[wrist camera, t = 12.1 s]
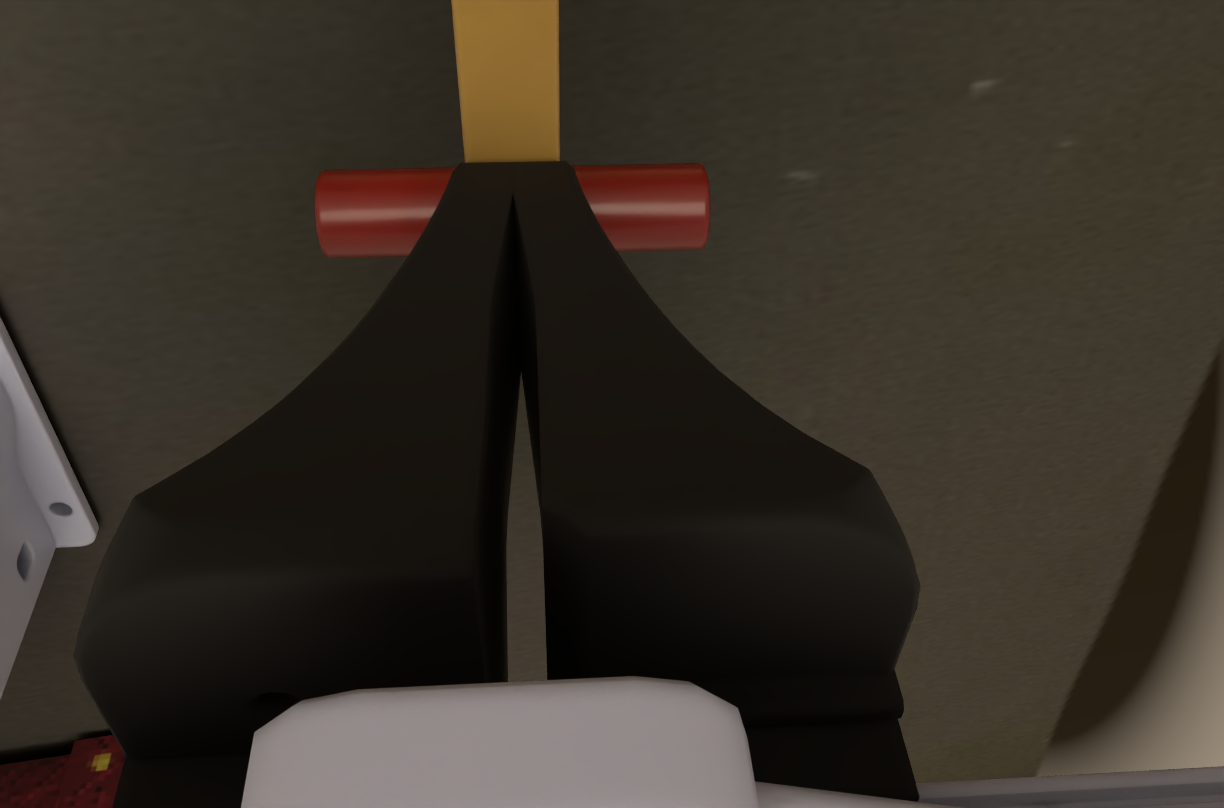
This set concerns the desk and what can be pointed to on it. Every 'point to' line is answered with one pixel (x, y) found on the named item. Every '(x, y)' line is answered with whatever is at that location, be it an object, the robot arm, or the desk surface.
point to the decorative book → (65, 778)
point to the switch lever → (510, 149)
